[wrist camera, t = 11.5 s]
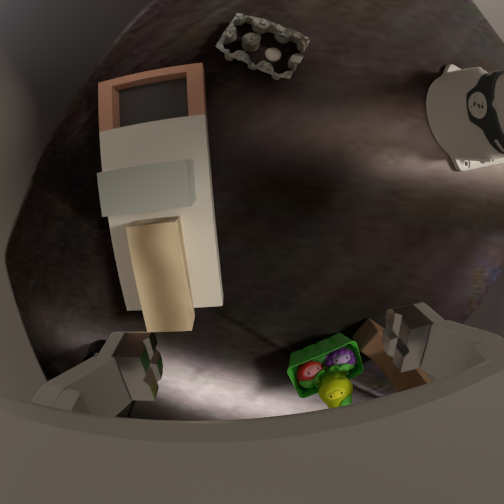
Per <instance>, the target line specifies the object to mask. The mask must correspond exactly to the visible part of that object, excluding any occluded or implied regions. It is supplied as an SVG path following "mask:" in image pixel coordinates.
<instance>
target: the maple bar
mask: <svg viewBox="0 0 504 504" xmlns="http://www.w3.org/2000/svg"><path fill="white" fill-rule="evenodd" d="M126 232H127V238H128V244H129V250H130V255H131V261H132V266H133V271H134V276H135V281H136V285H137V290H138V294H139V299H140V303H141V307H142V312H143V316H144V320H145V324H146V328H147V331H148V332H169V331H192V327H193V323H194V318H195V312H194V306H193V300H192V293H191V287H190V280H189V274H188V267H187V260H186V253H185V245H184V237H183V229H182V221H181V216H171V217H161V218H152V219H143V220H136V221H134V222H133V223H131V224H130V225H128V226H127V227H126Z"/></svg>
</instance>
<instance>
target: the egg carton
mask: <svg viewBox="0 0 504 504" xmlns="http://www.w3.org/2000/svg"><path fill="white" fill-rule="evenodd" d="M245 23H249V24H251V25H252V29H253V31H254V32H255V33H257V34H255V33H247V34H245V35H244V36H243V38H242V48H243V49H244V50H245V51H247V52H254V51H256V50H257V49H258V47H259V44H260V40H261V36H260V35H259V34H264V33H266V32H270V33H274V34H275V35H274V36H275V39H276V40H277V41H278V42H279V43H288V42H289V41H292V42H294V43H296V44H297V49H298V50H299V51H300V52H301V53H302V54H300V53H296V54H293V55H292V56H291V57H290V59H289V60H288V68H289V69H290V70H291V71H286V72H284V73H282V74H277V73H276V72H274V68H273V65H271V64H270V63H268V62H266V61H265V60H263V61H260V62H259V63H258V64H257V65H255V64H254V63H253V62H251V60H250V59H249V55H248V54H246V53H245V52H244V51H242V50H237V51H235V52H234V53H230V51H229V49H225V48H224V46H223V45H224V44H229V43H232V42H234V41H235V40H236V32H237V31H236V27H235V26H241V25H243V24H245ZM309 42H310V38H308V37H306V36H305V35H304V34H301V33H299V32H297V31H295V30H292V29H286V28H284V27H282V26H281V25H279V24H275V23H272V22H270V21H267V20H265V19H262V18H258V17H252V16H244V15H243V14H241V13H237V14H236V15H235V17H234V19H233V20H232V21H231V22H230V24H229V26H228V27H227V28H226V30H225V31H224V33H223V34H222V36H221V38H220V40H219V41H218V42H217V45H216V47H217V48H218V49H219V50H221V51H222V52H224V55H225V59H227V60H229V61H232V60H233V59H234V58H236V59H237V60H241V61H244V62H245V63H247V64H248V68H250V69H252V70H256V69H259V70H261V71H262V72H265V73H268V74H271V75H272V76H271V78H273V79H275V80H279V79H280V78H287V79H290V78H291V76H292V74H293V72H294V71H295V69H296V67H297V64H298V63H300V62H301V60H302V59H303V53H304V51H305V49H306V47H307V46H308V43H309ZM265 56H266V58H267V59H268V60H269V61H278V60H280V58H281V52H280V50H278V49H277V48H268V49H267V50H266V51H265ZM249 62H251V63H249Z"/></svg>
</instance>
